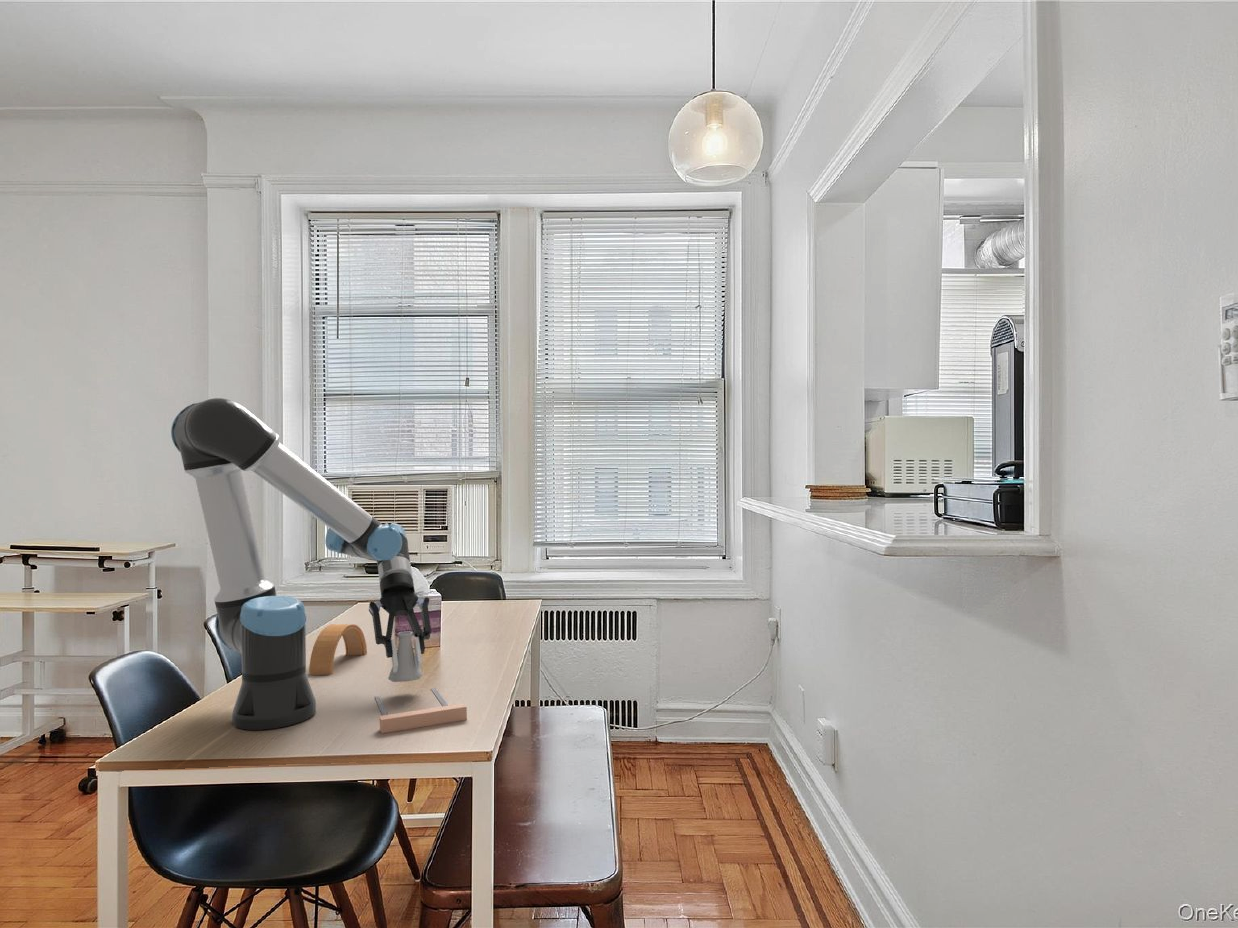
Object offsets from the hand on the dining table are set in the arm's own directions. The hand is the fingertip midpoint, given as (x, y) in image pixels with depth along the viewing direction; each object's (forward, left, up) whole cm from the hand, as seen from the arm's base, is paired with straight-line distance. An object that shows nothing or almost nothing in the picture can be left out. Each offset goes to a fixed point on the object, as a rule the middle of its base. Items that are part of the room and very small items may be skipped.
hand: (407, 667), depth 156 cm
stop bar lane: (0, -6, -7) cm, 9 cm away
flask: (0, +4, -4) cm, 5 cm away
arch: (-11, +40, -7) cm, 42 cm away
